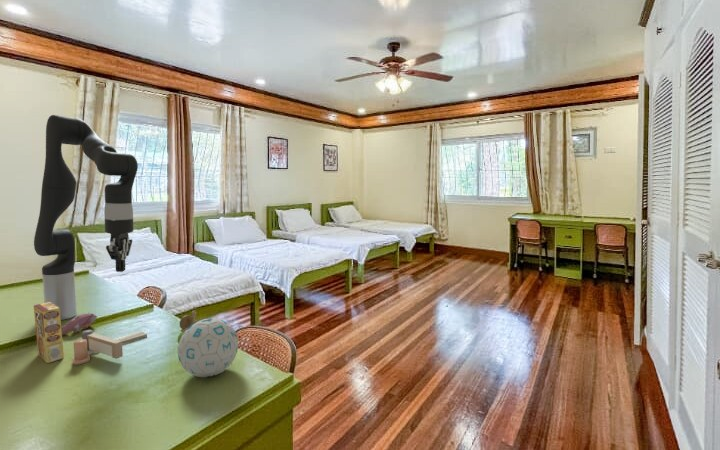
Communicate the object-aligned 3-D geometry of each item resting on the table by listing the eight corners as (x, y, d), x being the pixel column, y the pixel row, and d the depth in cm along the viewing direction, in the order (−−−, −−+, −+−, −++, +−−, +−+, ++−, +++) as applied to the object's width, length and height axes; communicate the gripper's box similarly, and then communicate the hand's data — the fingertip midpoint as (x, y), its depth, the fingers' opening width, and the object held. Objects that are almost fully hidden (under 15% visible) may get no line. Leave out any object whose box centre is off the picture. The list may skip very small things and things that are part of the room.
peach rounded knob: (70, 362, 105) (69, 341, 104) (86, 356, 108) (85, 337, 107) (75, 366, 102) (74, 345, 102) (92, 360, 106) (91, 340, 105)
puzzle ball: (248, 364, 106) (248, 313, 104) (217, 392, 91) (215, 333, 90) (202, 357, 109) (201, 308, 108) (165, 383, 94) (162, 327, 93)
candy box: (64, 358, 107) (61, 307, 105) (46, 364, 103) (42, 311, 102) (54, 350, 112) (51, 301, 110) (36, 355, 108) (32, 304, 107)
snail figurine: (203, 343, 118) (202, 307, 117) (187, 352, 112) (186, 314, 111) (189, 341, 120) (188, 305, 119) (173, 349, 114) (172, 311, 113)
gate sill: (78, 352, 110) (77, 349, 110) (141, 333, 125) (141, 331, 125) (83, 356, 108) (83, 353, 108) (147, 336, 123) (146, 333, 123)
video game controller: (68, 340, 123) (74, 323, 121) (57, 333, 123) (64, 316, 122) (94, 329, 132) (101, 313, 131) (84, 323, 133) (91, 306, 132)
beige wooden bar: (80, 349, 110) (79, 332, 110) (90, 345, 112) (89, 329, 112) (114, 360, 104) (114, 342, 103) (124, 356, 106) (123, 339, 106)
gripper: (115, 214, 121) (117, 266, 123) (94, 219, 108) (96, 276, 110) (140, 215, 122) (141, 266, 124) (122, 220, 109) (124, 276, 111)
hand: (120, 271), depth 117 cm, fingers closed
